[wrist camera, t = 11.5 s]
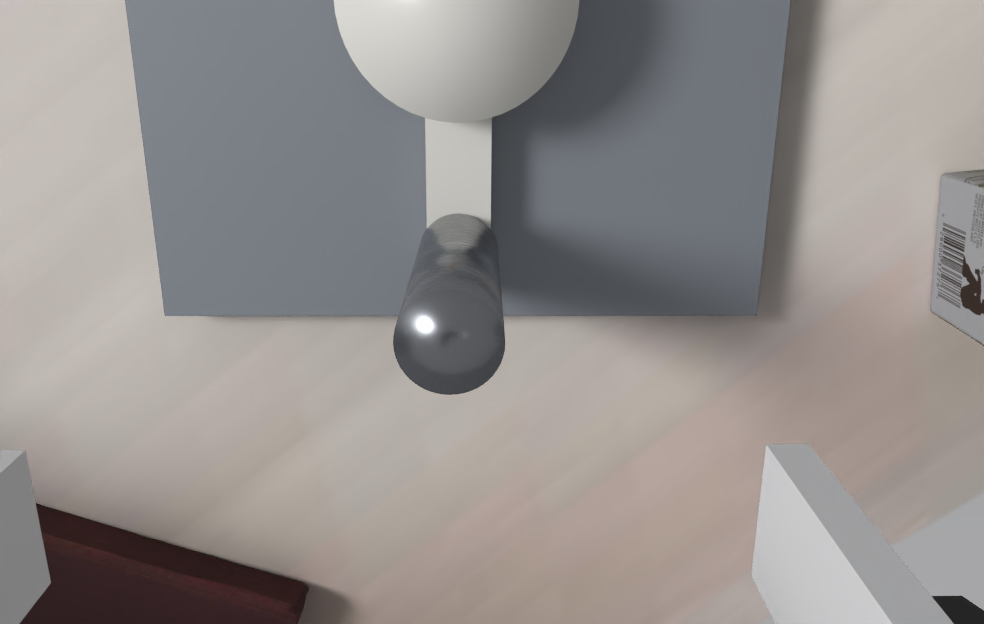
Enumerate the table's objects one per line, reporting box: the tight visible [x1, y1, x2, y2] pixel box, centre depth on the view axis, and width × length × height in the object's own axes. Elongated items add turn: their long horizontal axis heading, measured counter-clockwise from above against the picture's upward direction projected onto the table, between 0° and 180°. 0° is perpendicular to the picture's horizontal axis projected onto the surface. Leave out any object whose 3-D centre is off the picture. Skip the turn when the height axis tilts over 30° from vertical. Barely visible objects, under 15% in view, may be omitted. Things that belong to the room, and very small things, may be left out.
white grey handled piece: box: [334, 0, 579, 395], centre depth 25 cm, size 20×8×11 cm, turn 179°
